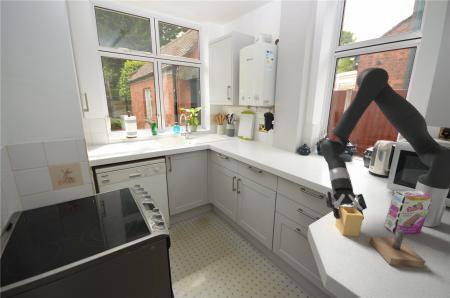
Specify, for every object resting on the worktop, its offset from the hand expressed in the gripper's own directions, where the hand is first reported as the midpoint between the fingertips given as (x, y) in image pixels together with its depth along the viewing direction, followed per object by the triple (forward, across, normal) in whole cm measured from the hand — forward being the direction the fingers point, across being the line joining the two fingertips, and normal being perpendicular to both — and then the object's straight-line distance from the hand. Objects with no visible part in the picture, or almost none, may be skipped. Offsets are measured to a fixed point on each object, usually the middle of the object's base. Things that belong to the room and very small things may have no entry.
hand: (349, 219), depth 76 cm
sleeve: (+3, 0, +4) cm, 5 cm away
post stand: (+11, +10, -4) cm, 15 cm away
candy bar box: (+1, +23, +6) cm, 24 cm away
